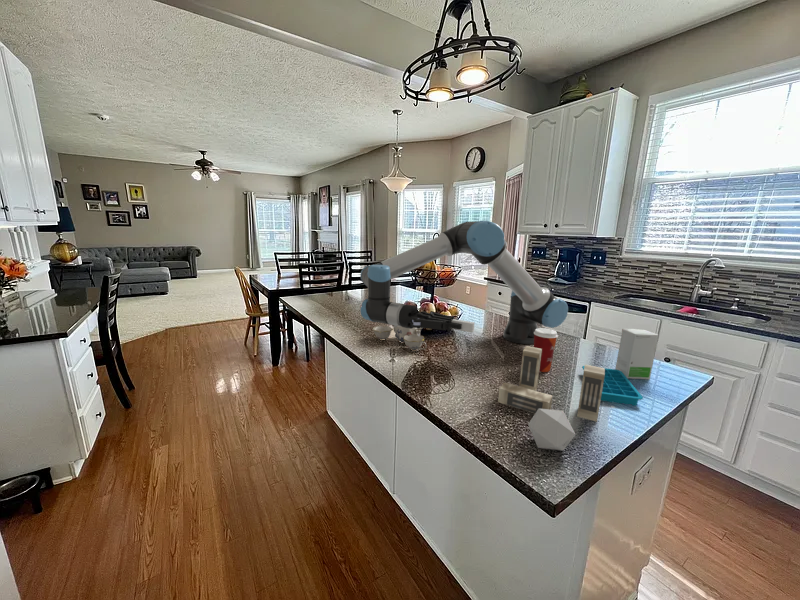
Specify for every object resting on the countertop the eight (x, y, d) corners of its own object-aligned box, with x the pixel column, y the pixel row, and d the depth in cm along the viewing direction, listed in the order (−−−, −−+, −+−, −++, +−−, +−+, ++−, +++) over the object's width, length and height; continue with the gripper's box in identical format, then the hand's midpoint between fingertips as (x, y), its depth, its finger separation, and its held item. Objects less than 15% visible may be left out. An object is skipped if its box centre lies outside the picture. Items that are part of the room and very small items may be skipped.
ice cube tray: (619, 378, 109) (620, 370, 108) (642, 409, 90) (644, 399, 90) (580, 373, 112) (581, 365, 112) (595, 402, 94) (597, 392, 93)
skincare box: (625, 379, 108) (634, 334, 104) (613, 370, 114) (620, 328, 111) (651, 379, 108) (660, 334, 104) (637, 371, 114) (645, 328, 111)
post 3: (578, 408, 89) (584, 364, 86) (597, 413, 87) (604, 368, 84) (577, 417, 85) (583, 370, 82) (596, 422, 83) (604, 375, 80)
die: (562, 467, 68) (589, 428, 68) (524, 439, 69) (551, 401, 70) (550, 455, 76) (574, 419, 76) (516, 430, 78) (540, 395, 78)
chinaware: (366, 344, 141) (363, 307, 136) (389, 331, 153) (387, 297, 148) (420, 360, 125) (419, 319, 120) (442, 344, 137) (441, 306, 132)
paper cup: (555, 374, 110) (561, 335, 107) (531, 372, 112) (536, 333, 109) (550, 365, 118) (554, 328, 115) (527, 363, 119) (531, 326, 116)
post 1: (521, 385, 102) (526, 345, 99) (537, 388, 100) (541, 348, 97) (518, 391, 98) (522, 350, 95) (534, 395, 96) (539, 353, 93)
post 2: (504, 382, 95) (552, 395, 87) (502, 396, 96) (550, 410, 88) (498, 388, 91) (549, 403, 84) (497, 403, 92) (547, 419, 84)
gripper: (412, 321, 113) (479, 334, 101) (392, 331, 102) (464, 346, 90) (413, 300, 111) (481, 310, 99) (392, 308, 100) (466, 320, 88)
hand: (473, 327), depth 94 cm, fingers closed
